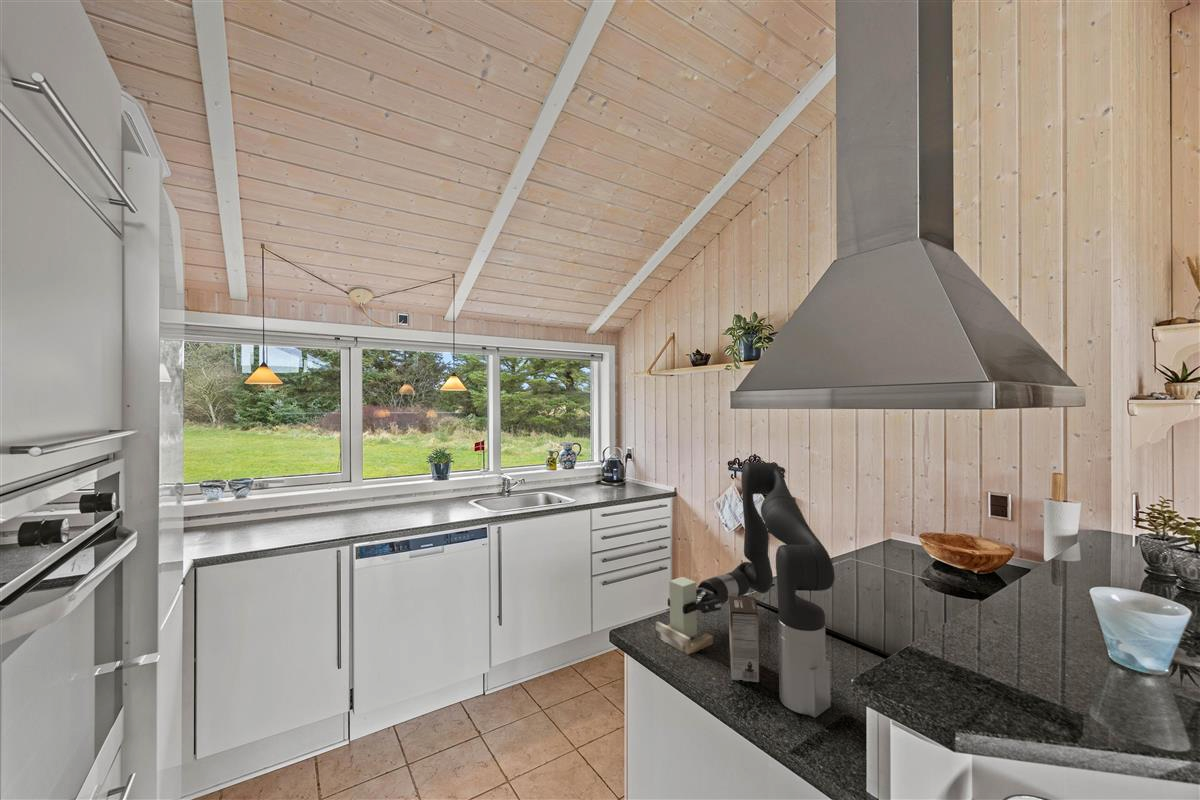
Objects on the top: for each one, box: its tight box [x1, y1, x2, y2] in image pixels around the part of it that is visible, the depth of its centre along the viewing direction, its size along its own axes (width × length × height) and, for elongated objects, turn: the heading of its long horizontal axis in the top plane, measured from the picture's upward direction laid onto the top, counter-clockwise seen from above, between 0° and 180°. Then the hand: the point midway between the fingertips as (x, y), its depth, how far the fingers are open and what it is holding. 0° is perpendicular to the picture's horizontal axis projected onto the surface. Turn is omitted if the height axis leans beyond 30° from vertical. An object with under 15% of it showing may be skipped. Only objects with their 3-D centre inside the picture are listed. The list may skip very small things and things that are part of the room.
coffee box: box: [728, 596, 760, 683], centre depth 116 cm, size 9×6×16 cm
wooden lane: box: [655, 620, 714, 656], centre depth 131 cm, size 12×9×4 cm
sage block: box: [668, 576, 698, 638], centre depth 131 cm, size 5×5×14 cm
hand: (676, 606), depth 130 cm, fingers closed on sage block, 5 cm apart
